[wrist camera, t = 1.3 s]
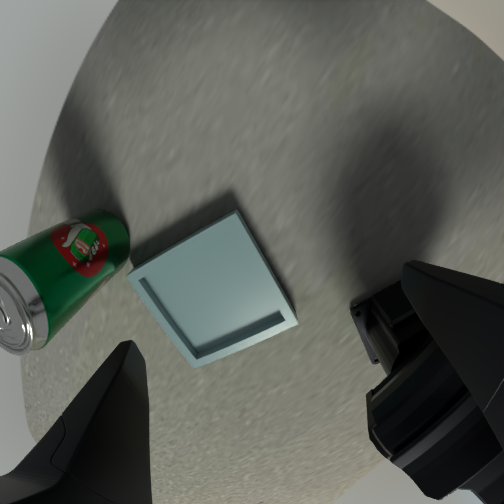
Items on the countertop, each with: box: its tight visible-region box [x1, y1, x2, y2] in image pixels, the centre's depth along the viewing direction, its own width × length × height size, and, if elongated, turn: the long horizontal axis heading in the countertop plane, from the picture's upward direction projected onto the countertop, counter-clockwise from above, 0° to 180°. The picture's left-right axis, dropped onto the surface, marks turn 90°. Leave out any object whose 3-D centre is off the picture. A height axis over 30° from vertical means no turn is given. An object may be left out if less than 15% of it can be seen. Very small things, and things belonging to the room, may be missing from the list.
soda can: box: [0, 210, 130, 355], centre depth 15 cm, size 5×5×12 cm
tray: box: [126, 209, 299, 369], centre depth 21 cm, size 9×9×2 cm
